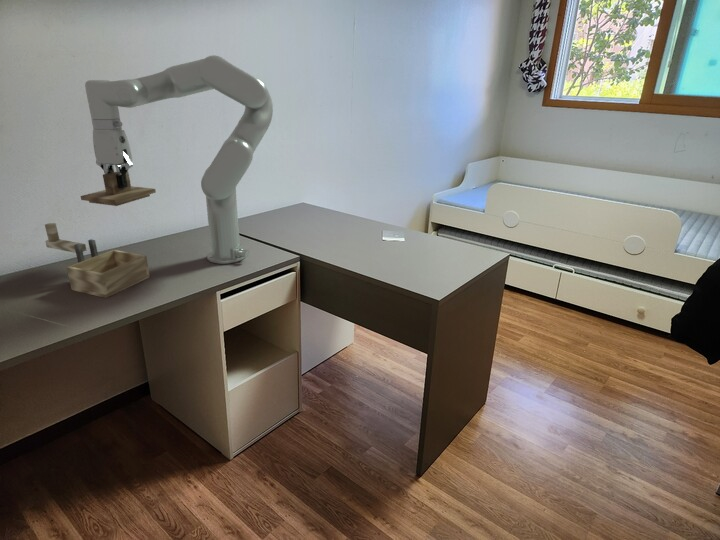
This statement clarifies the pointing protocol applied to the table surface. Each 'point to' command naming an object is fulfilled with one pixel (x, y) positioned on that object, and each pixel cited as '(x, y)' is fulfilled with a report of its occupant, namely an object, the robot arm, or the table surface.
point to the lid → (117, 192)
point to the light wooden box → (106, 271)
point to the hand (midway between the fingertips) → (118, 186)
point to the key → (59, 240)
